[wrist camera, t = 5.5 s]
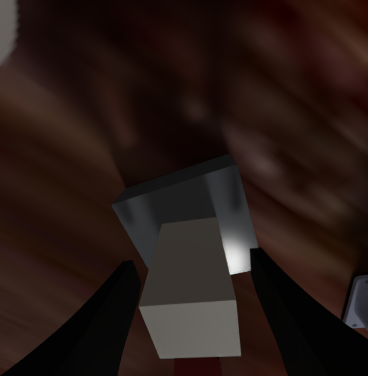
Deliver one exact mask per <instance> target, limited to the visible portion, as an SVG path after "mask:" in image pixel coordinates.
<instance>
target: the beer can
mask: <svg viewBox="0 0 368 376" xmlns="http://www.w3.org/2000/svg"><path fill="white" fill-rule="evenodd" d="M173 376H222V371H221V363H220V361H219V360H218V358H217V357H191V358H176V360H175V363H174V375H173Z"/></svg>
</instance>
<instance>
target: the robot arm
mask: <svg viewBox="0 0 368 376" xmlns="http://www.w3.org/2000/svg"><path fill="white" fill-rule="evenodd" d="M250 266H251V276H252V280H253V283H254V286H255V290H256V293H257V295H258V298H259V300H260V303H261V305H262V308H263V310H264V312H265V315H266V317H267V320H268V322H269V325H270V327H271V329H272V332H273V334H274V337H275V339H276V342H277V345H278V347H279V350H280V353H281V356H282V359H283V362H284V365H285V368H286V371H287V374H288V376H368V339H367V338H365V337H364V336H362V335H361V334H360V333H358V332H357V331H355V330H354V329H352V328H362V327H365V328H366V329H367V330H368V275H360V276H357V277H355V278H354V282H353V285H352V289H351V293H350V296H349V300H348V304H347V308H346V311H345V315H344V319H343V321H341V320H340V319H339V318H338V317H336V316H335V315H334V314H332V313H331V312H330V311H328V310H327V309H326V308H325V307H323V306H322V305H321V304H320V303H318V302H317V301H316V300H315V299H314V298H312V297H311V296H310V295H309V294H308V293H307V292H305V291H304V290H303V289H302V288H301V287H300V286H299V285H298V284H297V283H295V282H294V281H293V280H292V279H291V278H290V277H289V276H288V275H287V274H286V273H285V272H284V271H283V270H282V269H281V268H280V267H279V266H278V265H277V264H276V263H275V262H274V261H273V260H272V259H271V258H270V257H269V256H268V254H267V253H266V252H265V251H264V250H263V249H262V248H261V247H260V248H250ZM140 287H141V282H140V279H139V276H138V274H137V271H136V268H135V266H134V263H133V260H131V261H123V262H122V263H121V264H120V265H119V267H118V268H117V269H116V270H115V271H114V272H113V273H112V275H111V276H110V277H109V278H108V279H107V280H106V281H105V283H104V284H103V285H102V286H101V287H100V288H99V289H98V290H97V291H96V293H95V294H94V295H93V296H92V297H91V298H90V299H89V300H88V301H87V302H86V303H85V304H84V305H83V306H82V307H81V308H80V309H79V310H78V311H77V312H76V313H75V314H74V315H73V316H72V317H71V318H70V319H69V320H68V321H67V322H66V323H65V324H63V325H62V326H61V327H60V328H59V329H58V330H57V331H56V332H55V333H53V334H52V335H51V336H50V337H49V338H47V339H46V340H45V341H44V342H43V343H41V344H40V345H39V346H38V347H37V348H36V349H34V350H33V351H32V352H31V353H29V354H28V355H27V356H26V357H24V358H23V359H22V360H20V361H19V362H18V363H17V364H15V365H14V366H13V367H11V368H10V369H9V370H7V371H6V372H5V373H3V374H2V375H1V376H117V374H118V370H119V365H120V361H121V357H122V353H123V349H124V345H125V342H126V339H127V335H128V332H129V329H130V326H131V322H132V319H133V316H134V313H135V309H136V306H137V303H138V298H139V293H140Z"/></svg>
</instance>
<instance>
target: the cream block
mask: <svg viewBox="0 0 368 376" xmlns="http://www.w3.org/2000/svg"><path fill="white" fill-rule="evenodd" d="M139 309H140V311H141V314H142V316H143V318H144V321H145V323H146V326H147V328H148V331H149V333H150V335H151V338H152V340H153V343H154V345H155V347H156V350H157V352H158V355H159V357H160V359H162V358H191V357H221V356H241V351H240V340H239V329H238V318H237V307H236V298H235V294H234V290H233V285H232V281H231V276H230V272H229V268H228V263H227V259H226V255H225V250H224V246H223V242H222V237H221V233H220V229H219V224H218V220H217V217H213V218H205V219H197V220H189V221H180V222H172V223H164V224H162V226H161V229H160V233H159V236H158V240H157V243H156V247H155V250H154V254H153V258H152V261H151V265H150V268H149V272H148V275H147V279H146V282H145V286H144V289H143V293H142V297H141V300H140V304H139Z"/></svg>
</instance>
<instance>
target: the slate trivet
mask: <svg viewBox="0 0 368 376" xmlns="http://www.w3.org/2000/svg"><path fill="white" fill-rule="evenodd" d="M111 206H112V207H113V209H114V211H115V212H116V214H117V216H118V218H119V219H120V221H121V223H122V225H123V226H124V228H125V230H126V231H127V233H128V235H129V237H130V238H131V240H132V242H133V243H134V245H135V247H136V249H137V250H138V252H139V254H140V255H141V257H142V259H143V261H144V262H145V264H146V266H147V267H148V269H149V268H150V265H151V261H152V258H153V254H154V250H155V247H156V243H157V240H158V236H159V233H160V229H161V226H162V224H164V223H172V222H180V221H189V220H197V219H205V218H213V217H217V220H218V224H219V229H220V233H221V237H222V242H223V246H224V250H225V255H226V259H227V263H228V268H229V272H230V275H231V274H236V273H240V272H245V271H250V270H251V266H250V248H258V244H257V240H256V236H255V232H254V228H253V224H252V221H251V217H250V213H249V209H248V205H247V201H246V197H245V193H244V189H243V185H242V181H241V178H240V174H239V170H238V166H237V163H236V162H235V161H234V160H233V159H232V158H231V156H230V155H229V154H226V155H223V156H220V157H217V158H214V159H211V160H208V161H205V162H202V163H199V164H196V165H193V166H190V167H187V168H184V169H181V170H179V171H176V172H173V173H170V174H167V175H164V176H161V177H158V178H155V179H152V180H149V181H146V182H143V183H140V184H137V185H134V186H131V187H128V188H126V189H125V190H124V191H123V192H122V193H121V194H120V195H119V197H118V198H117V199H116V200H115V201H114V202H113V203H112V204H111Z"/></svg>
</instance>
